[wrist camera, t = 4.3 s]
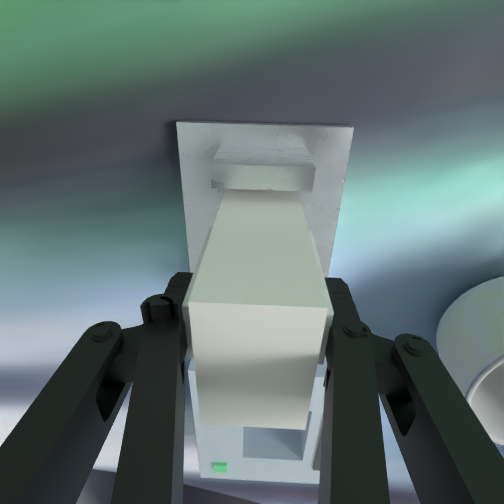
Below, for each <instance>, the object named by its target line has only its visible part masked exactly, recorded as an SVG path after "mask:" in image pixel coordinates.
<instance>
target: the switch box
mask: <svg viewBox="0 0 504 504" xmlns="http://www.w3.org/2000/svg"><path fill="white" fill-rule="evenodd" d="M326 369H327V361H326V357H325V360H324V365H319V364H318V365H317V370H316V375H315V381H314V386H313V391H312V397H311V402H310V407H309V413H308V418H307V423H306V429H305V430H298V429H279V428H260V427H241V426H222V425H202V424H200V414H199V404H198V394H197V384H196V375H195V365H194V359H193V358H191V361H190V365H189V369H188V375H189V383H190V392H191V400H192V409H193V417H194V425H195V434H196V442H197V451H198V459H199V468H200V476H201V477H202V478H220V479H237V480H255V481H273V482H291V483H309V484H319V480H320V462H321V444H322V427H323V409H324V391H325V387H323V383H324V378H325V374H326Z"/></svg>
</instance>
